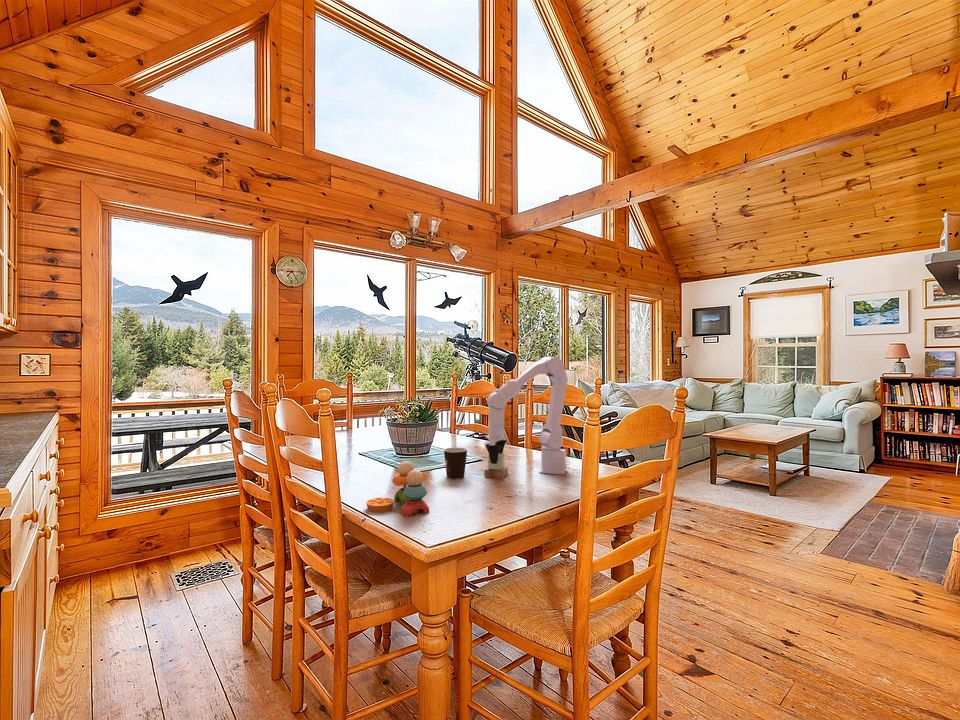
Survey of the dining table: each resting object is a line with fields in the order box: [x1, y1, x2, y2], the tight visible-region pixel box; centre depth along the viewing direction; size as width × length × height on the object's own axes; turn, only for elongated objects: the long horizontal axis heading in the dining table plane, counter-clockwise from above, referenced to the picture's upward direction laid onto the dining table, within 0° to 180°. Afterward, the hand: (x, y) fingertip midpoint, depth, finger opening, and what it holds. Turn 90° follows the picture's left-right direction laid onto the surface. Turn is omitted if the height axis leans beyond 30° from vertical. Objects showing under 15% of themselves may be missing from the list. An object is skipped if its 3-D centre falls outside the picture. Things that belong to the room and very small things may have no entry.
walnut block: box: [484, 466, 509, 479], centre depth 181 cm, size 7×7×3 cm
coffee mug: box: [443, 446, 468, 480], centre depth 180 cm, size 12×9×10 cm
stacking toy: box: [365, 460, 430, 518], centre depth 142 cm, size 18×17×12 cm
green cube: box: [487, 453, 505, 470], centre depth 181 cm, size 5×5×5 cm
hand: (496, 461), depth 181 cm, fingers open, 7 cm apart
